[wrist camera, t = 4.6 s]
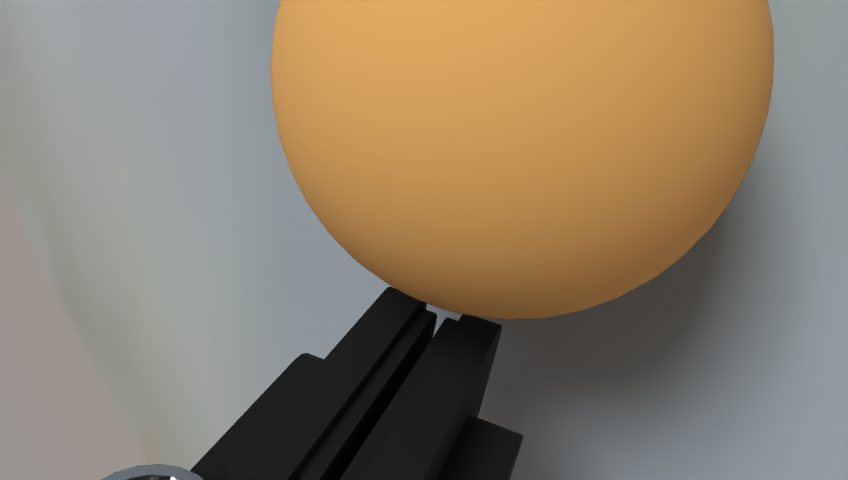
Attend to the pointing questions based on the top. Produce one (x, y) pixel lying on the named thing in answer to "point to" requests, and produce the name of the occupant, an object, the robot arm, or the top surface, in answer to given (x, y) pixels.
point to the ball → (520, 138)
